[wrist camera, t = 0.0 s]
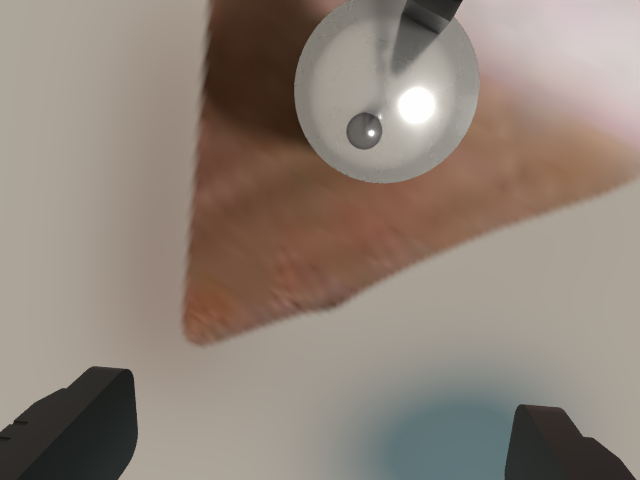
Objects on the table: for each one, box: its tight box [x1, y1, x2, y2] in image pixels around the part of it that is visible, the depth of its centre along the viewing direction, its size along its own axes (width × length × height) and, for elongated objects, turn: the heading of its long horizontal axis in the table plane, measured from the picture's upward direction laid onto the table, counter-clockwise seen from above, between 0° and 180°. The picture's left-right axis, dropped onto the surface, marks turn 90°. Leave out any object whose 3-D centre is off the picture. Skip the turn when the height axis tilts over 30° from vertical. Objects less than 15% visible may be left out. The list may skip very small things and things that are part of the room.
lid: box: [294, 0, 479, 183], centre depth 22 cm, size 16×11×8 cm, turn 153°
